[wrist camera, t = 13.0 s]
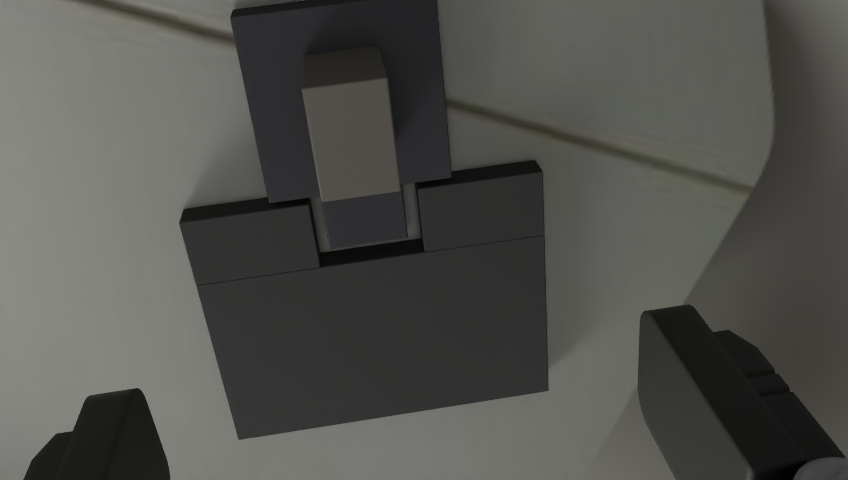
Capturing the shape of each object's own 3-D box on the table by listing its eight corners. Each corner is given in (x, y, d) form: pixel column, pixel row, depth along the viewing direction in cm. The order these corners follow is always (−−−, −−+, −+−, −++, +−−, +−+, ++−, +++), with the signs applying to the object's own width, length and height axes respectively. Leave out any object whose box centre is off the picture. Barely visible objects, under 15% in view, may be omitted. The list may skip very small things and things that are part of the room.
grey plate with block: (431, -16, 37) (453, 17, 31) (452, 218, 42) (474, 281, 37) (232, 9, 36) (218, 47, 30) (281, 242, 42) (276, 311, 36)
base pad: (535, 160, 41) (543, 171, 40) (542, 375, 48) (548, 391, 47) (183, 209, 40) (178, 222, 39) (240, 422, 47) (238, 440, 46)
